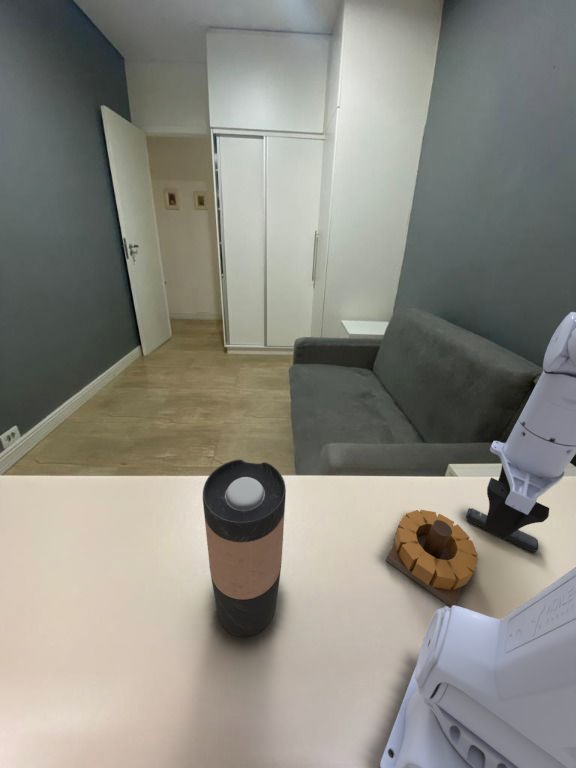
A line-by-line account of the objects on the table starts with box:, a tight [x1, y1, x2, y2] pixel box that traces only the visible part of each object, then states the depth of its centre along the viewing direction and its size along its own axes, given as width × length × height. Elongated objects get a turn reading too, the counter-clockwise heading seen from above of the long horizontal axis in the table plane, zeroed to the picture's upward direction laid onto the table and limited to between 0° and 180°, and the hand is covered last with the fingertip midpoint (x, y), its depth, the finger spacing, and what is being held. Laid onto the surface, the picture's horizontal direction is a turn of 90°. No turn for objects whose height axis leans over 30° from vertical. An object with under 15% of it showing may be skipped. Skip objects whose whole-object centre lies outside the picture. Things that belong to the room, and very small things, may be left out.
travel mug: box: [202, 459, 287, 638], centre depth 33 cm, size 8×8×20 cm
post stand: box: [385, 520, 462, 608], centre depth 42 cm, size 9×9×7 cm
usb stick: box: [465, 507, 539, 553], centre depth 48 cm, size 10×3×2 cm, turn 55°
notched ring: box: [394, 509, 479, 590], centre depth 43 cm, size 10×10×2 cm
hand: (500, 512), depth 40 cm, fingers open, 7 cm apart
